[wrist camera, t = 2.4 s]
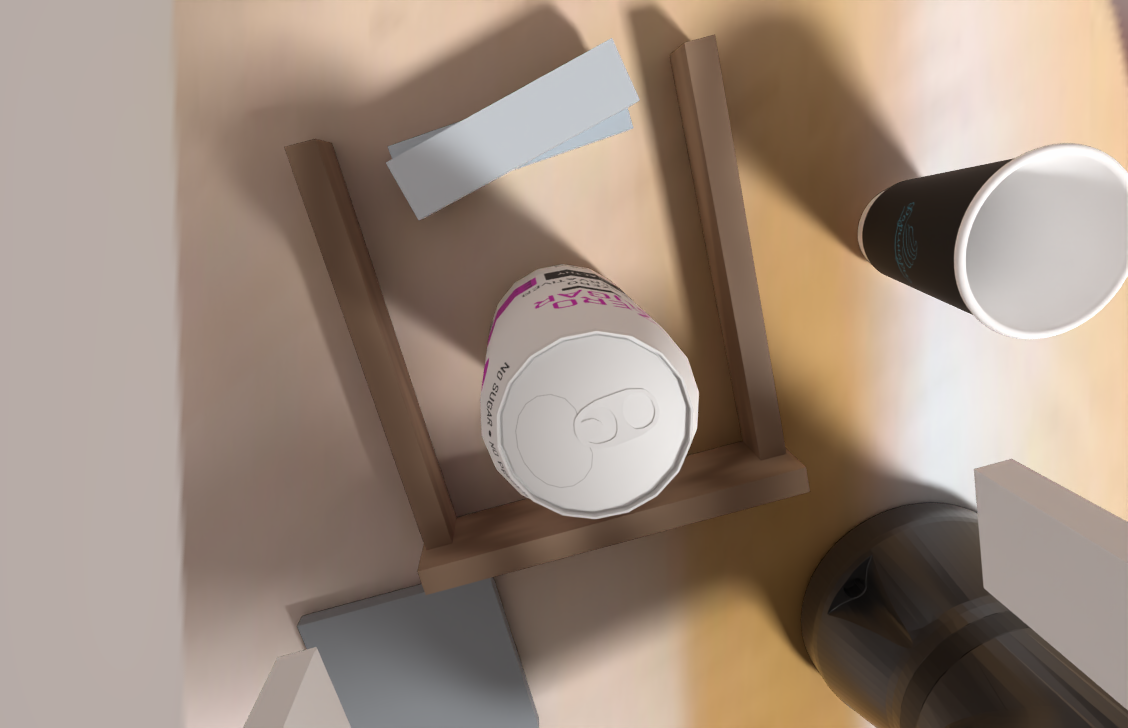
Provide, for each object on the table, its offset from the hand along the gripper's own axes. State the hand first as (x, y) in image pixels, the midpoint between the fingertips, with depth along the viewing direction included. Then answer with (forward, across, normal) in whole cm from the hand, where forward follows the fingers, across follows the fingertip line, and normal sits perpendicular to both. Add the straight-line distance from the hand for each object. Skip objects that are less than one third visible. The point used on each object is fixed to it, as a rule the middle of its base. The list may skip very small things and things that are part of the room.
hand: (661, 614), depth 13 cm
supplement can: (+26, 0, 0) cm, 26 cm away
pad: (+25, +14, +19) cm, 35 cm away
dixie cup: (+26, -20, -1) cm, 33 cm away
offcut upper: (+24, 0, -11) cm, 26 cm away
